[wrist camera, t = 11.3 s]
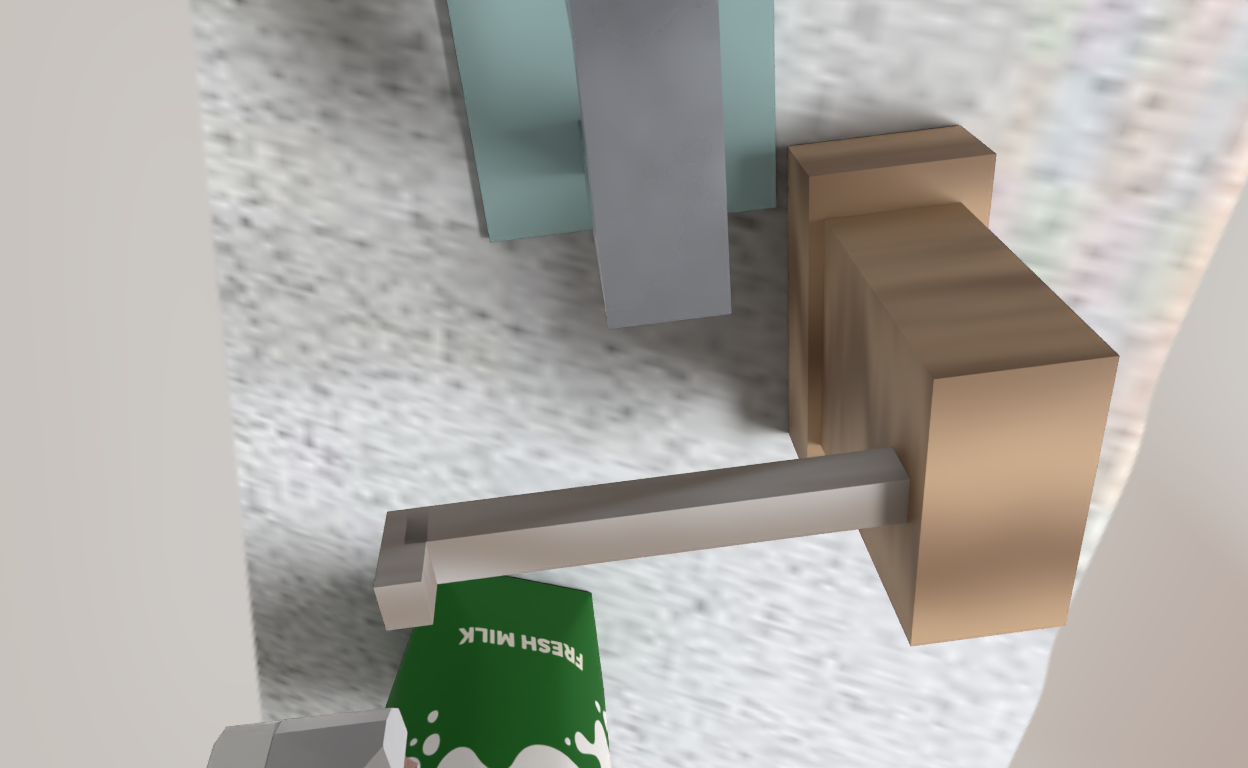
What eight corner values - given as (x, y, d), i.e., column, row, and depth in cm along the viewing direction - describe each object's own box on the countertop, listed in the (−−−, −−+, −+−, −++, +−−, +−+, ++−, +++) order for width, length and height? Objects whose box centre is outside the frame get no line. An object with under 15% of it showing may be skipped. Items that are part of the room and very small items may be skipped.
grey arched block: (552, -89, 29) (566, -24, 20) (654, -100, 29) (716, -42, 20) (584, 173, 33) (608, 329, 24) (672, 162, 33) (731, 313, 24)
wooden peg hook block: (389, 194, 33) (319, 413, 22) (960, 125, 34) (1185, 304, 22) (454, 476, 40) (427, 761, 28) (934, 415, 40) (1099, 670, 29)
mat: (421, -152, 28) (419, -151, 28) (768, -191, 28) (771, -190, 28) (490, 237, 34) (489, 242, 34) (773, 203, 35) (776, 207, 34)
